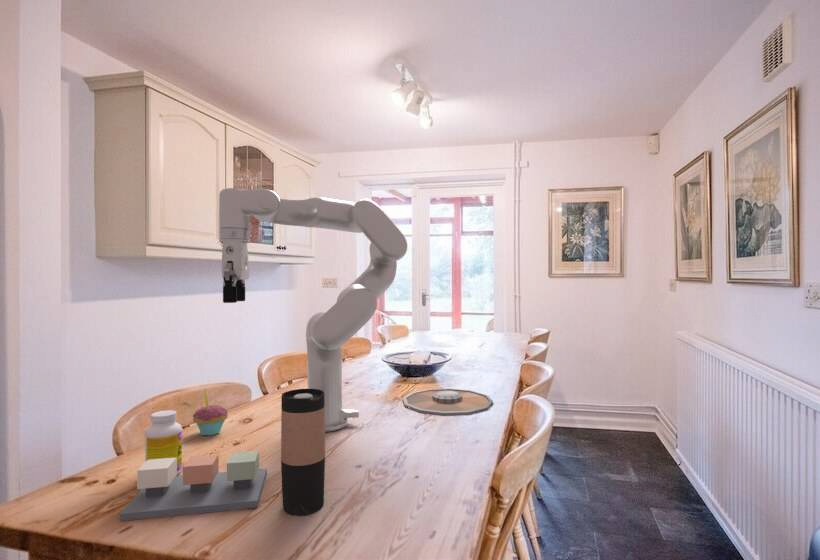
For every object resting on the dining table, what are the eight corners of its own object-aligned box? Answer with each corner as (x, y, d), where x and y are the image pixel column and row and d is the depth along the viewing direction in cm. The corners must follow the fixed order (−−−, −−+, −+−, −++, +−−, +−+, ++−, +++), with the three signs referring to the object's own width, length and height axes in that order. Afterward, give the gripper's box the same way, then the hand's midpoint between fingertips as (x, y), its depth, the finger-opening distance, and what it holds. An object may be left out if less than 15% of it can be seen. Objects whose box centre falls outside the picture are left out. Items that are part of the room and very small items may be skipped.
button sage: (258, 467, 88) (258, 451, 88) (255, 478, 83) (255, 461, 83) (232, 470, 87) (232, 453, 87) (226, 481, 82) (226, 463, 82)
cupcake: (214, 439, 113) (214, 392, 113) (185, 437, 115) (185, 390, 115) (234, 428, 122) (234, 384, 122) (206, 426, 123) (206, 383, 123)
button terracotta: (218, 471, 86) (218, 454, 86) (212, 482, 81) (212, 464, 81) (190, 473, 85) (190, 456, 85) (182, 485, 80) (182, 466, 80)
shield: (409, 381, 165) (491, 384, 160) (409, 390, 165) (491, 393, 160) (394, 404, 135) (494, 408, 130) (394, 415, 135) (494, 419, 130)
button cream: (176, 474, 85) (176, 457, 85) (167, 486, 80) (167, 468, 80) (148, 477, 84) (148, 459, 84) (137, 489, 79) (137, 470, 79)
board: (267, 474, 92) (267, 457, 92) (257, 507, 78) (257, 488, 79) (151, 484, 88) (151, 466, 88) (119, 521, 74) (119, 500, 74)
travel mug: (285, 496, 83) (285, 388, 83) (327, 494, 83) (327, 387, 83) (277, 518, 75) (276, 399, 75) (322, 515, 76) (322, 398, 76)
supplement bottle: (183, 477, 91) (183, 414, 91) (146, 485, 87) (146, 420, 88) (180, 466, 97) (180, 406, 97) (144, 473, 93) (144, 411, 93)
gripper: (242, 233, 108) (242, 303, 108) (255, 240, 125) (255, 300, 125) (209, 232, 107) (209, 303, 107) (228, 239, 124) (228, 300, 124)
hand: (234, 301), depth 116 cm, fingers open, 9 cm apart
